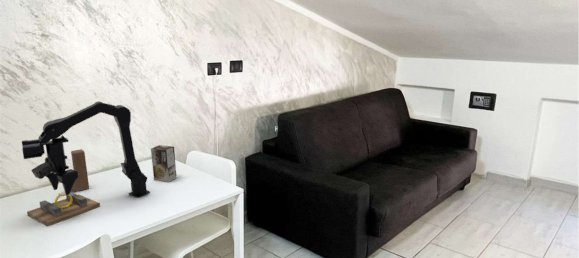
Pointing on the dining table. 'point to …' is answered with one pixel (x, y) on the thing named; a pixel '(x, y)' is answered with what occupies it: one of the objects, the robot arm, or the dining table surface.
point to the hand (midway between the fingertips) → (61, 192)
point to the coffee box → (163, 163)
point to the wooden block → (79, 171)
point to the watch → (63, 195)
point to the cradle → (55, 214)
